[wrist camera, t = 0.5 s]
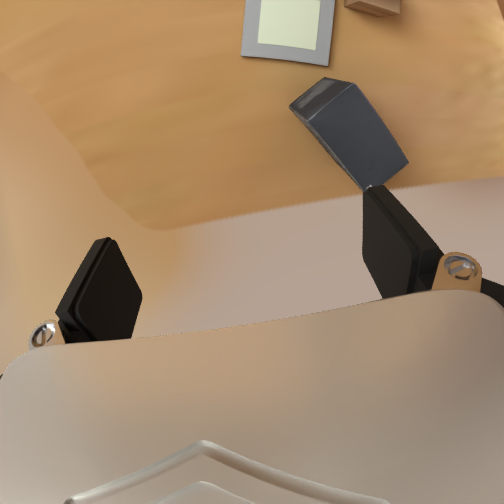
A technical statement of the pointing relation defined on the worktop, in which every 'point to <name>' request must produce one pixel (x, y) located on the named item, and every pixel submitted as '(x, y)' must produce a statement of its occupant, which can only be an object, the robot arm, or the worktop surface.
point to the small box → (350, 131)
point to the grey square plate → (288, 30)
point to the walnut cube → (375, 6)
